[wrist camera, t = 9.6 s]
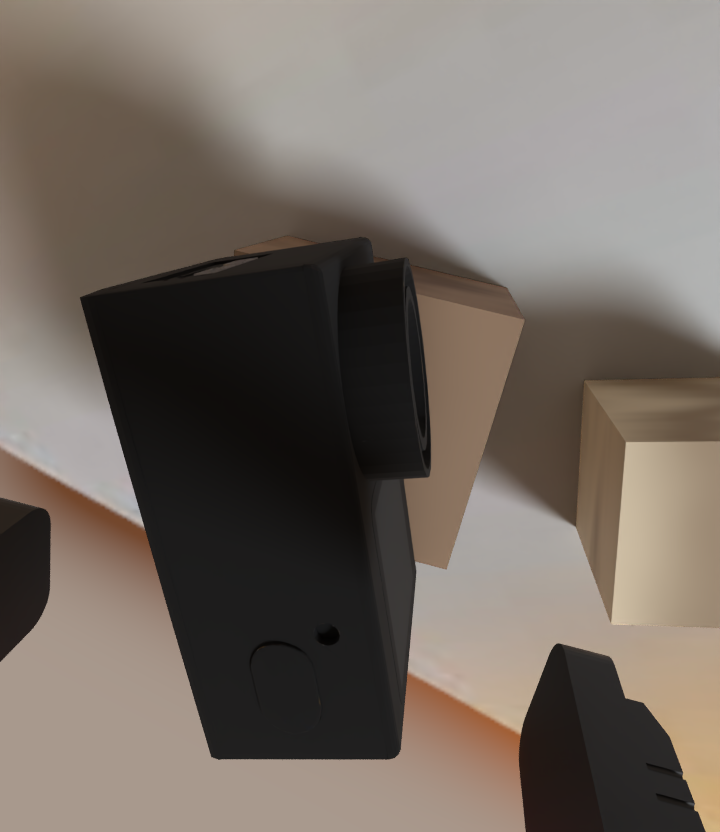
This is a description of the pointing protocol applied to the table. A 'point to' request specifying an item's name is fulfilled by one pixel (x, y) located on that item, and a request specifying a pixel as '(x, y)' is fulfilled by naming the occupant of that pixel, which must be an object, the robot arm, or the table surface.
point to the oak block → (652, 498)
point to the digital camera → (278, 485)
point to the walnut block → (451, 392)
